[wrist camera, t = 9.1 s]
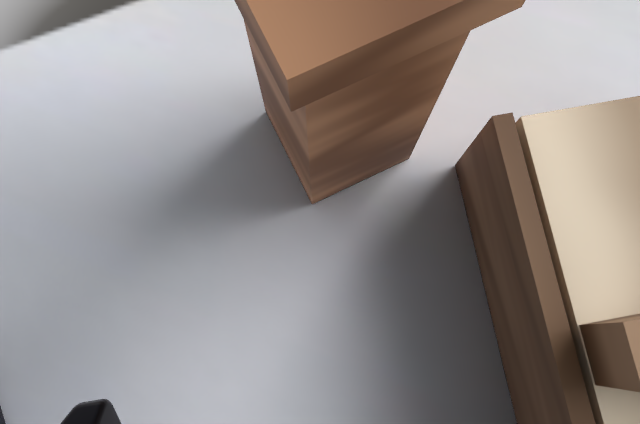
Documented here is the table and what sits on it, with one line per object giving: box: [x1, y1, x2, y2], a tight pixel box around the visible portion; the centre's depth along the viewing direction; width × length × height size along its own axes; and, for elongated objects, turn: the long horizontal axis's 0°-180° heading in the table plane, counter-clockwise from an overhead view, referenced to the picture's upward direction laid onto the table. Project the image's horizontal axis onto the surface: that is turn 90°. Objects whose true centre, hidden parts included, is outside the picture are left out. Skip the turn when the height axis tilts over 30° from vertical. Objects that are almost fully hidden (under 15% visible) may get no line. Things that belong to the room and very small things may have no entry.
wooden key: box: [235, 0, 525, 204], centre depth 16 cm, size 5×5×12 cm
